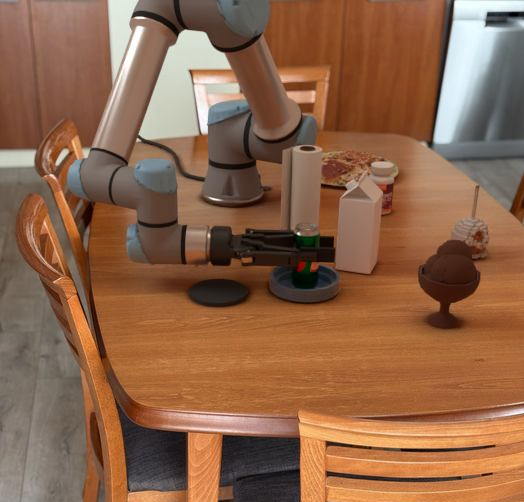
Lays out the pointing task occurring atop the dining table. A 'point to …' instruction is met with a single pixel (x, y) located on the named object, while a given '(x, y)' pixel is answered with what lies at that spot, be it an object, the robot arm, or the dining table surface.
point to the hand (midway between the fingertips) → (334, 249)
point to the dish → (284, 288)
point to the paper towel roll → (300, 186)
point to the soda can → (306, 271)
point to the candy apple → (473, 231)
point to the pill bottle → (383, 183)
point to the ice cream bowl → (449, 279)
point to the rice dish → (348, 166)
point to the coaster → (218, 292)
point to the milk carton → (359, 226)
